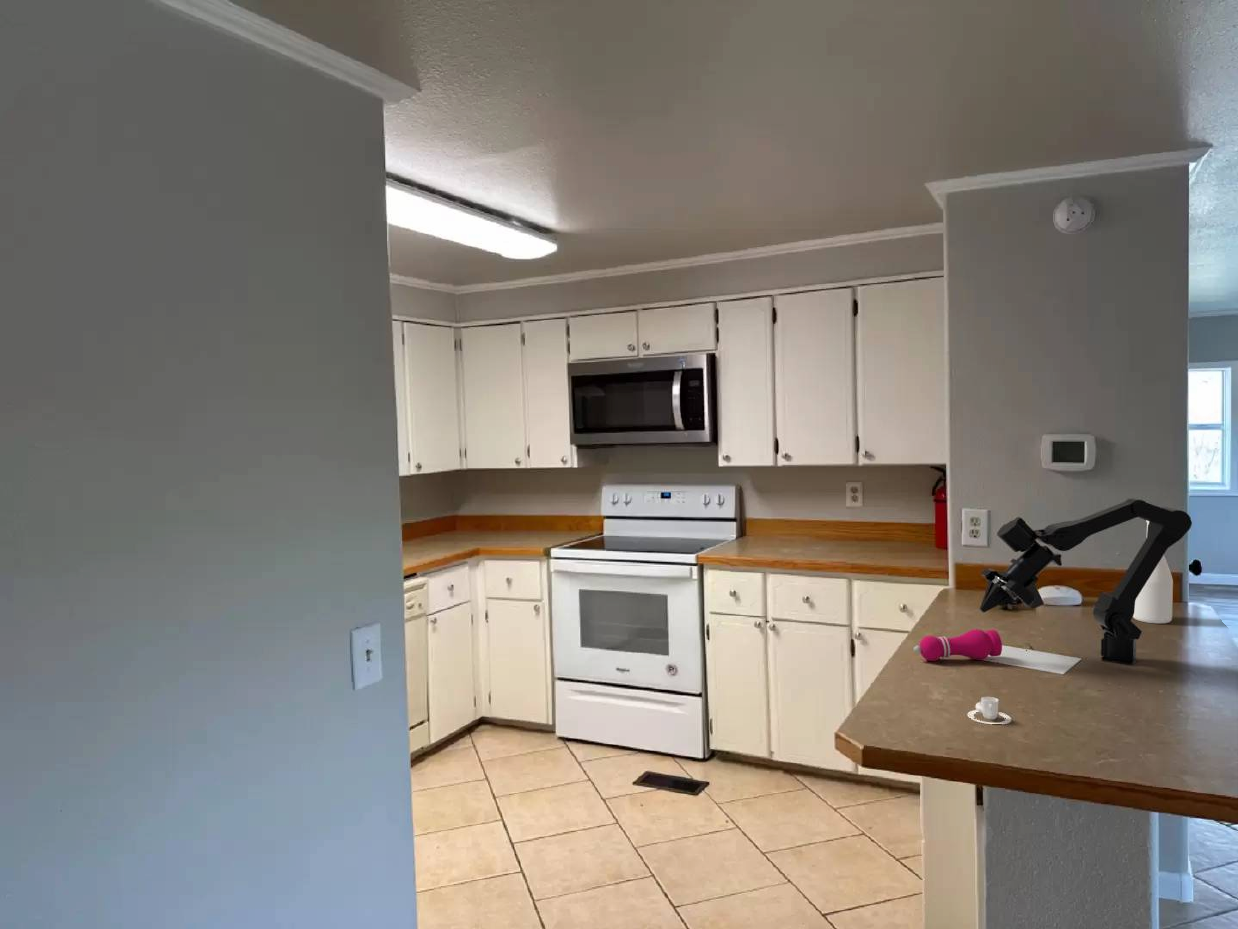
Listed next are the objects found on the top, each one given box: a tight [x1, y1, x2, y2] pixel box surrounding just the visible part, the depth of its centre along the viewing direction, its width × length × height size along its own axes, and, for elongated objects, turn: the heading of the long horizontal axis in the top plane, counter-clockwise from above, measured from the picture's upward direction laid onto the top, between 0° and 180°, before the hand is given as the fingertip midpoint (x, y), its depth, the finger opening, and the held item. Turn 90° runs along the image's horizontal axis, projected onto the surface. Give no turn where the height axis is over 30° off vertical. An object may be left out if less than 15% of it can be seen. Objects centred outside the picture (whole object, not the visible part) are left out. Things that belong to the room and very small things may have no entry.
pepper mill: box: [913, 628, 1003, 662], centre depth 202 cm, size 7×7×20 cm
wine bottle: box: [1132, 520, 1174, 624], centre depth 234 cm, size 10×10×30 cm
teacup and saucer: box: [967, 696, 1012, 725], centre depth 165 cm, size 9×8×4 cm
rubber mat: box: [979, 644, 1082, 675], centre depth 202 cm, size 20×15×1 cm
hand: (981, 611), depth 202 cm, fingers closed
